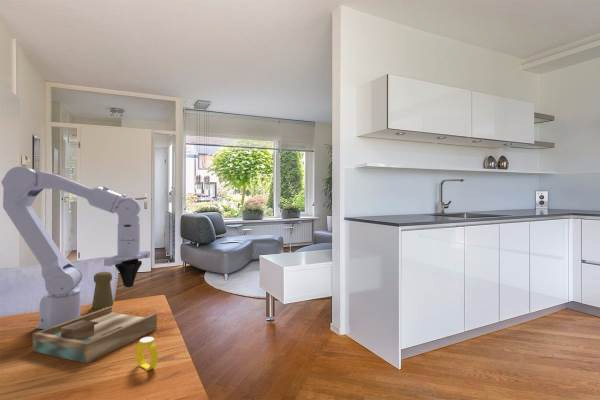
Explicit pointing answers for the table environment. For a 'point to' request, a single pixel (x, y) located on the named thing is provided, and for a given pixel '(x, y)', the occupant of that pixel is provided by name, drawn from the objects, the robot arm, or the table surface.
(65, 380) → the table surface
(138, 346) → the watch
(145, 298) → the table surface
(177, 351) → the table surface
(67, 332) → the walnut block
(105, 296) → the cork
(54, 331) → the board
